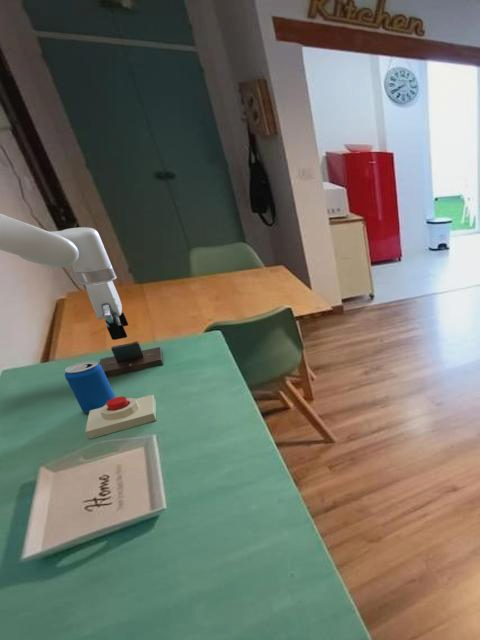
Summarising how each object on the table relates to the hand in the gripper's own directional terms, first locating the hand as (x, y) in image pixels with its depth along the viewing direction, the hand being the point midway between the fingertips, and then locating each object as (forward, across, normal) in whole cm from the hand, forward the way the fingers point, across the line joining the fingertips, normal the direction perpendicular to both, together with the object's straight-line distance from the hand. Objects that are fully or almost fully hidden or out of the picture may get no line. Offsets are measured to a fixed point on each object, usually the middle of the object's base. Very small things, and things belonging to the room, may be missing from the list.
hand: (120, 332), depth 120 cm
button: (+7, +32, -1) cm, 33 cm away
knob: (+9, 0, 0) cm, 9 cm away
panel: (+11, 0, 0) cm, 11 cm away
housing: (+10, +32, -1) cm, 34 cm away
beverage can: (+11, +23, -6) cm, 26 cm away
